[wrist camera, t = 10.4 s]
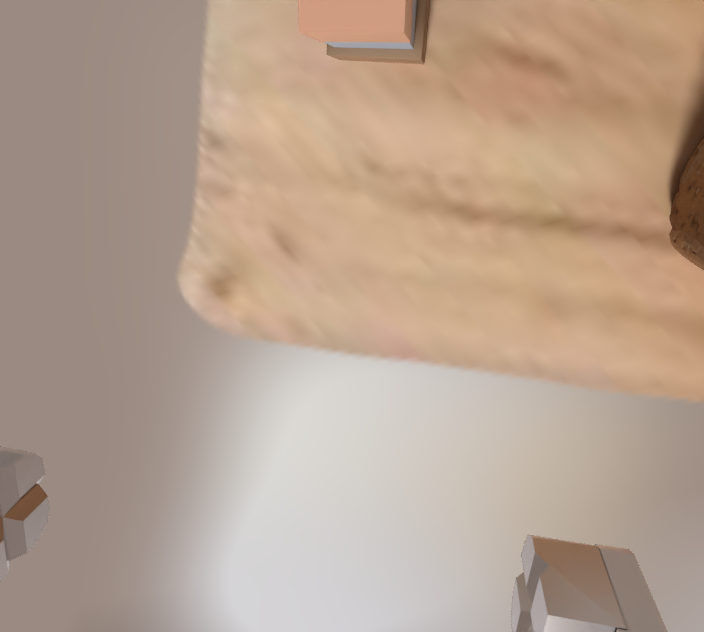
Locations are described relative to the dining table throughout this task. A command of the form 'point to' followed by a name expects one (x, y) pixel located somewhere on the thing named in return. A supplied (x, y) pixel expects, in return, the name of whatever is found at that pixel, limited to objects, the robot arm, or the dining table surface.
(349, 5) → the cube
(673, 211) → the brown oval lump
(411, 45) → the tower mid
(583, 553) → the robot arm
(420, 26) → the tower base
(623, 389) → the dining table surface
